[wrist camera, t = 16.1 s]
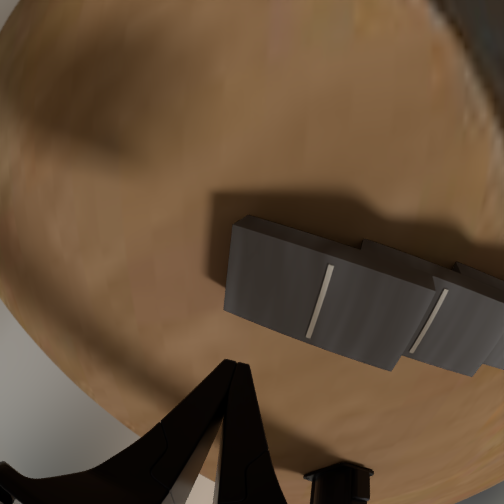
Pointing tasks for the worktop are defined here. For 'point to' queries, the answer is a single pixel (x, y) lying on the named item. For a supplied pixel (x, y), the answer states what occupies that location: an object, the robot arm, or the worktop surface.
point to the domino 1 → (325, 292)
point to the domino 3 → (500, 355)
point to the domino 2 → (452, 316)
